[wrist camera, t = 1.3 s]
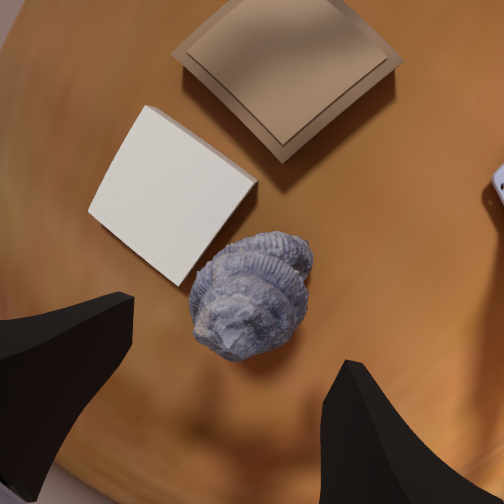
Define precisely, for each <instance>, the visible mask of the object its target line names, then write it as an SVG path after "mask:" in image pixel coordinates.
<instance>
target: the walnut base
mask: <svg viewBox="0 0 504 504" xmlns="http://www.w3.org/2000/svg"><path fill="white" fill-rule="evenodd" d="M171 55H172V56H173V57H174V58H176V59H177V60H178V61H179V62H180V63H181V64H182V65H183V66H184V67H186V68H187V69H188V70H189V71H190V72H191V73H192V74H193V75H194V76H195V77H196V78H198V79H199V80H200V81H201V82H202V83H203V84H204V85H205V86H206V87H207V88H208V89H209V90H210V91H211V92H212V93H213V94H214V95H215V96H216V97H218V98H219V99H220V100H221V101H222V102H223V103H224V104H225V105H226V106H227V107H228V108H229V109H230V110H231V111H232V112H233V113H234V114H235V115H236V116H237V117H238V118H239V119H240V120H241V121H242V122H243V123H244V124H245V125H246V126H247V127H248V128H249V129H250V130H251V131H252V132H253V133H254V134H255V136H256V137H257V138H258V139H259V140H260V141H261V142H262V143H263V144H264V145H265V146H266V147H267V148H268V149H269V150H270V151H271V152H272V153H273V154H274V156H275V157H276V158H277V159H278V160H279V161H280V162H281V163H282V164H283V163H285V162H286V161H287V160H288V159H289V158H290V157H291V156H293V155H294V154H295V153H296V152H297V151H298V150H299V149H301V148H302V147H303V146H304V145H305V144H306V143H307V142H309V141H310V140H311V139H312V138H313V137H314V136H315V135H317V134H318V133H319V132H320V131H321V130H322V129H324V128H325V127H326V126H327V125H328V124H329V123H331V122H332V121H333V120H334V119H335V118H336V117H338V116H339V115H340V114H341V113H342V112H344V111H345V110H346V109H347V108H348V107H349V106H351V105H352V104H353V103H354V102H355V101H357V100H358V99H359V98H360V97H361V96H363V95H364V94H365V93H366V92H368V91H369V90H370V89H371V88H372V87H374V86H375V85H376V84H377V83H379V82H380V81H381V80H382V79H383V78H385V77H386V76H387V75H388V74H390V73H391V72H392V71H393V70H395V69H396V68H397V67H398V66H399V65H400V64H402V63H403V62H404V60H403V59H402V58H401V57H400V56H399V55H398V54H397V53H396V51H395V50H394V49H393V48H392V47H391V46H390V45H389V44H388V43H387V42H386V41H385V40H384V39H383V38H382V37H381V36H380V35H379V34H378V33H377V32H376V31H375V30H374V29H373V28H372V27H371V26H370V25H369V24H367V23H366V22H365V21H364V20H363V19H362V18H361V17H360V16H359V15H358V14H357V13H355V12H354V11H353V10H352V9H351V8H350V7H349V6H347V5H346V4H345V3H344V2H343V1H341V0H230V1H228V2H227V3H226V4H225V5H224V6H222V7H221V8H220V9H219V10H218V11H216V12H215V13H214V14H213V15H212V16H211V17H209V18H208V19H207V20H206V21H205V22H204V23H203V24H202V25H201V26H199V27H198V28H197V29H196V30H195V31H194V32H193V33H192V34H191V35H190V36H189V37H188V38H187V39H186V40H184V41H183V42H182V43H181V44H180V45H179V46H178V47H177V48H176V49H175V50H174V51H173V52H172V53H171Z"/></svg>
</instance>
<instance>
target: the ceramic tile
mask: <svg viewBox="0 0 504 504" xmlns="http://www.w3.org/2000/svg"><path fill="white" fill-rule="evenodd" d="M257 181H258V180H257V179H255V178H254V177H253V176H251V175H250V174H249V173H247V172H246V171H245V170H243V169H242V168H241V167H239V166H238V165H237V164H235V163H234V162H233V161H231V160H230V159H228V158H227V157H226V156H224V155H223V154H222V153H220V152H219V151H218V150H216V149H215V148H213V147H212V146H211V145H209V144H208V143H206V142H205V141H204V140H202V139H201V138H199V137H198V136H197V135H195V134H194V133H192V132H191V131H190V130H188V129H187V128H185V127H184V126H182V125H181V124H180V123H178V122H177V121H175V120H174V119H172V118H171V117H169V116H168V115H166V114H165V113H164V112H162V111H161V110H159V109H158V108H156V107H151V106H147V105H145V107H144V108H143V110H142V112H141V113H140V115H139V116H138V118H137V120H136V121H135V123H134V125H133V126H132V128H131V130H130V131H129V133H128V135H127V137H126V138H125V140H124V142H123V144H122V145H121V147H120V149H119V151H118V152H117V154H116V156H115V158H114V160H113V162H112V164H111V165H110V167H109V169H108V171H107V173H106V175H105V177H104V179H103V181H102V183H101V185H100V187H99V189H98V191H97V193H96V195H95V197H94V199H93V201H92V204H91V206H90V208H89V210H88V212H89V213H90V214H91V215H93V216H94V217H95V218H96V219H97V220H98V221H99V222H101V223H102V224H103V225H104V226H105V227H106V228H107V229H109V230H110V231H111V232H112V233H113V234H114V235H116V236H117V237H118V238H119V239H120V240H122V241H123V242H124V243H125V244H126V245H128V246H129V247H130V248H131V249H132V250H134V251H135V252H136V253H137V254H138V255H140V256H141V257H142V258H143V259H144V260H146V261H147V262H148V263H149V264H151V265H152V266H153V267H154V268H156V269H157V270H158V271H159V272H161V273H162V274H163V275H164V276H166V277H167V278H168V279H169V280H171V281H172V282H173V283H175V284H176V285H177V286H179V285H180V284H181V283H182V282H183V281H184V280H185V279H186V277H187V276H188V275H189V273H190V272H191V270H192V269H193V268H194V266H195V265H196V264H197V262H198V261H199V259H200V258H201V257H202V255H203V254H204V252H205V251H206V250H207V248H208V247H209V246H210V244H211V243H212V241H213V240H214V239H215V237H216V236H217V235H218V233H219V232H220V231H221V229H222V228H223V227H224V225H225V224H226V222H227V221H228V220H229V218H230V217H231V216H232V214H233V213H234V212H235V210H236V209H237V208H238V206H239V205H240V204H241V202H242V201H243V200H244V198H245V197H246V196H247V194H248V193H249V192H250V191H251V189H252V188H253V187H254V185H255V184H256V183H257Z"/></svg>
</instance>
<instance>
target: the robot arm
mask: <svg viewBox="0 0 504 504" xmlns="http://www.w3.org/2000/svg"><path fill="white" fill-rule="evenodd" d="M502 183H503V189H502V190H501V184H502ZM492 184H493V186H494V188H495V190H496V192H497V194H498V196H499V198H500V200H501V202H502V204H503V206H504V163H503V164H502V165H501V166H500V167H499V169H498V170H497V171H496V172H495V173H494V174H493V175H492ZM134 298H135V297H133V296H130V295H127V294H125V293H122V292H115V293H111V294H108V295H104V296H101V297H98V298H95V299H92V300H89V301H86V302H83V303H79V304H76V305H73V306H70V307H66V308H63V309H59V310H55V311H52V312H48V313H44V314H40V315H35V316H30V317H24V318H18V319H11V320H0V482H1V483H0V504H28V503H30V502H36V501H37V498H38V495H39V493H40V490H41V487H42V485H43V483H44V480H45V478H46V475H47V473H48V471H49V469H50V467H51V465H52V463H53V461H54V459H55V457H56V455H57V453H58V451H59V449H60V447H61V445H62V443H63V442H64V440H65V438H66V436H67V434H68V433H69V431H70V429H71V428H72V426H73V424H74V423H75V421H76V420H77V418H78V416H79V415H80V413H81V412H82V411H83V409H84V408H85V407H86V405H87V404H88V403H89V402H90V401H91V399H92V398H93V397H94V396H95V395H96V393H97V392H98V391H99V390H100V388H101V387H102V386H103V385H104V384H105V382H106V381H107V380H108V379H109V378H110V376H111V375H112V374H113V373H114V372H115V370H116V369H117V368H118V367H119V365H120V364H121V362H122V360H123V359H124V357H125V356H126V354H127V352H128V351H129V349H130V347H131V345H132V335H133V314H134ZM320 442H321V491H320V500H319V504H504V502H503V500H502V499H500V498H498V497H496V496H494V495H492V494H490V493H489V492H487V491H485V490H483V489H481V488H479V487H478V486H476V485H474V484H473V483H471V482H470V481H468V480H467V479H465V478H464V477H462V476H461V475H460V474H458V473H457V472H456V471H454V470H453V469H452V468H450V467H449V466H448V465H447V464H446V463H445V462H443V461H442V460H441V459H440V458H439V457H437V456H436V455H435V454H434V453H433V452H432V451H431V450H430V449H429V448H428V447H427V446H426V445H425V444H424V443H423V442H422V441H421V440H420V439H419V438H418V437H417V435H416V434H415V433H414V432H413V431H412V430H411V429H410V427H409V426H408V425H407V424H406V422H405V421H404V420H403V419H402V417H401V416H400V415H399V414H398V412H397V411H396V410H395V408H394V407H393V406H392V404H391V403H390V401H389V400H388V399H387V397H386V396H385V394H384V393H383V392H382V390H381V389H380V387H379V386H378V384H377V383H376V381H375V380H374V378H373V377H372V376H371V374H370V373H369V371H368V370H367V369H366V367H365V366H364V365H363V363H360V362H355V361H351V360H346V359H345V361H344V363H343V365H342V367H341V369H340V371H339V373H338V375H337V377H336V379H335V381H334V383H333V385H332V386H331V388H330V390H329V392H328V394H327V396H326V398H325V399H324V401H323V407H322V415H321V425H320ZM5 486H6V487H5ZM10 490H11V491H10ZM14 493H15V494H14ZM26 502H28V503H26Z"/></svg>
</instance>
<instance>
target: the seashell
mask: <svg viewBox="0 0 504 504" xmlns="http://www.w3.org/2000/svg"><path fill="white" fill-rule="evenodd" d="M312 266H313V253H312V251H311V249H310V248H309V243H308V241H306V240H302V239H301V237H299V236H290V235H289V234H286V233H281V232H279V231H273V232H272V233H269V232H266V233H260V234H256V236H255V237H245V238H244V239H243V240H240V241H237V242H236V243H234V244H233V243H231V244H230V245H227V246H226V248H224V249H223V250H221V251H220V252H218V253H217V255H215V256H214V257H213V259H212V261H209V262H207V264H206V266H205V267H203V268H202V269H201V271H200V272H199V271H197V277H196V279H195V281H194V283H193V285H192V288H191V293H190V297H189V309H190V313H191V317H192V320H193V324H194V326H195V328H194V330H193V335H194V337H195V340H196V341H198V342H199V343H201V344H203V345H205V346H208V347H209V348H210V350H211V351H212V350H213V351H214V352H215V353H216V354H218V355H220V356H221V357H223V358H224V359H226V360H229V361H233V362H240V361H243V360H246V359H248V358H250V357H253V356H255V355H257V354H262V353H266V352H269V351H272V350H275V349H277V348H279V347H281V346H282V345H284V344H285V343H287V342H288V341H289V340H290V339H291V337H292V335H293V332H294V330H296V329H298V325H299V324H301V321H302V320H303V319H304V316H305V315H306V311H307V310H308V307H307V301H308V294H309V291H308V290H307V288H306V287H305V285H304V283H303V281H304V280H305V279H307V276H308V273H309V272H310V271H311V270H312V269H311V268H312Z"/></svg>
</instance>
